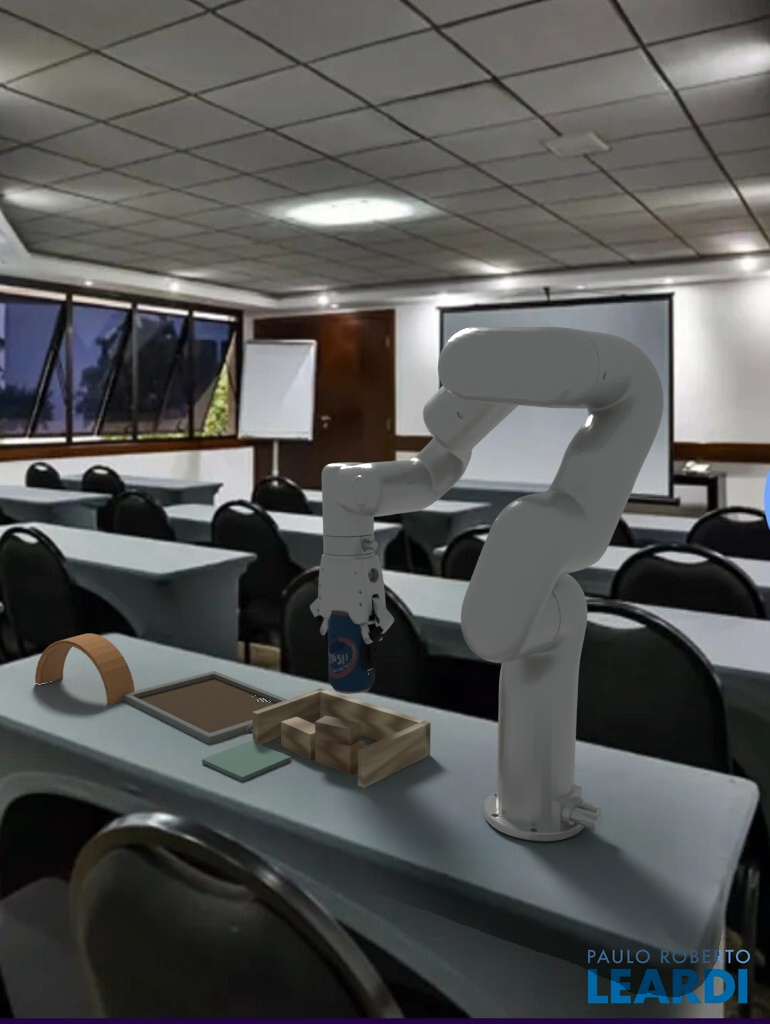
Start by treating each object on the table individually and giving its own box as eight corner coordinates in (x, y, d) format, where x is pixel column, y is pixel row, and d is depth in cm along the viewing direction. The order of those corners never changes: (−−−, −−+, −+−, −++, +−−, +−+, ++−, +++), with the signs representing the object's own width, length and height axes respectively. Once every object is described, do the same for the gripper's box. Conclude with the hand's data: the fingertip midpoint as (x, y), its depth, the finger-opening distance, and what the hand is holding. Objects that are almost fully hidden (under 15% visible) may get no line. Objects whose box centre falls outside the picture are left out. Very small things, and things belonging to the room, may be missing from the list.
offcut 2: (364, 768, 118) (364, 741, 118) (350, 775, 116) (350, 747, 115) (329, 755, 123) (329, 729, 122) (315, 761, 120) (314, 735, 120)
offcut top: (360, 739, 119) (360, 722, 118) (351, 745, 116) (351, 729, 116) (325, 731, 121) (325, 715, 121) (315, 737, 119) (315, 721, 119)
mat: (290, 760, 120) (290, 756, 120) (242, 781, 113) (242, 777, 113) (250, 744, 126) (250, 740, 126) (202, 763, 119) (202, 759, 119)
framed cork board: (214, 670, 159) (316, 710, 138) (214, 678, 159) (316, 719, 138) (121, 694, 145) (219, 742, 124) (122, 702, 145) (219, 752, 124)
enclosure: (430, 754, 123) (430, 722, 122) (364, 788, 112) (364, 752, 111) (320, 717, 137) (320, 688, 137) (252, 743, 126) (252, 712, 126)
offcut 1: (326, 754, 123) (325, 729, 122) (310, 760, 121) (310, 734, 120) (296, 741, 128) (296, 716, 127) (281, 746, 126) (281, 721, 125)
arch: (109, 705, 143) (107, 649, 142) (35, 685, 153) (32, 633, 152) (135, 696, 148) (133, 641, 147) (61, 677, 158) (59, 626, 157)
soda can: (319, 691, 123) (317, 611, 122) (345, 678, 129) (343, 603, 128) (359, 697, 119) (357, 616, 118) (383, 684, 125) (382, 607, 124)
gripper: (410, 547, 119) (412, 668, 121) (324, 539, 130) (327, 649, 132) (376, 554, 114) (378, 680, 115) (289, 544, 125) (293, 659, 126)
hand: (351, 662), depth 124 cm, fingers closed on soda can, 7 cm apart
